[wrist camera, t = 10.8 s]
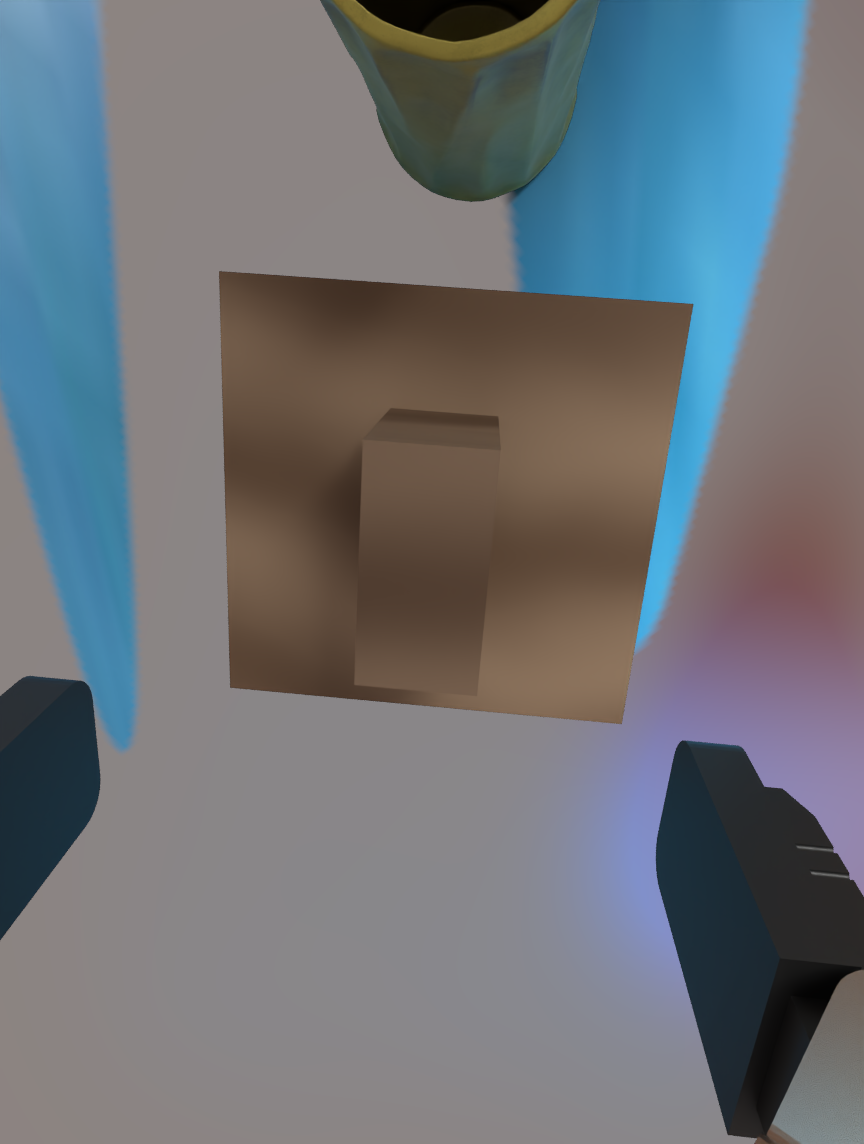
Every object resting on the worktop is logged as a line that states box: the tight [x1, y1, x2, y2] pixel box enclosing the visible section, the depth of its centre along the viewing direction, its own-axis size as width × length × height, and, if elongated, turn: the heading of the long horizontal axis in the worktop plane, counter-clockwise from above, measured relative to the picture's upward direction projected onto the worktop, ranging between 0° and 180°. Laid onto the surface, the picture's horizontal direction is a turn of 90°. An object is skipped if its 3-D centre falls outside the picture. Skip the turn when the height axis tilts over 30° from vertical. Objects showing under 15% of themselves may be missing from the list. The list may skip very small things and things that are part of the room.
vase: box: [320, 0, 600, 202], centre depth 17 cm, size 6×6×14 cm
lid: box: [219, 271, 693, 724], centre depth 20 cm, size 12×12×6 cm
